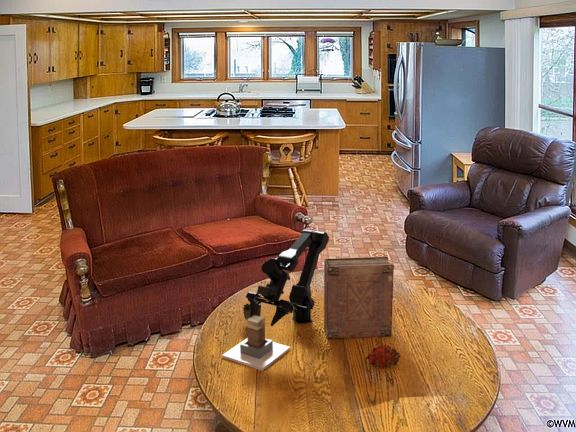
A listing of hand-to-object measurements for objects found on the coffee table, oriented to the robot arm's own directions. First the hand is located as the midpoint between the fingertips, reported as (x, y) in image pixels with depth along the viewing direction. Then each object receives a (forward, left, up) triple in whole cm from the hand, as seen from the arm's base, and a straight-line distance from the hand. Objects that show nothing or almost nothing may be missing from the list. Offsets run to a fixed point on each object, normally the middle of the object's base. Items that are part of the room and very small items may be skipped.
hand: (260, 323), depth 217 cm
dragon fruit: (-33, +31, -11) cm, 47 cm away
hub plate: (+3, +2, -11) cm, 11 cm away
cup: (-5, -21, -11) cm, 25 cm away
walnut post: (+3, +2, -10) cm, 11 cm away
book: (-39, +5, -11) cm, 41 cm away
